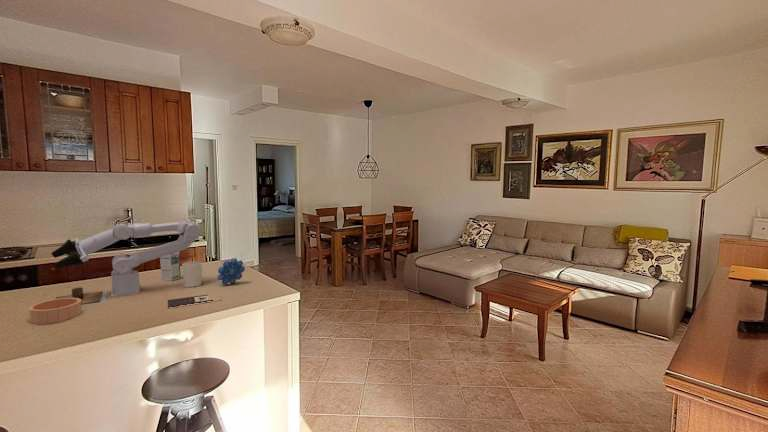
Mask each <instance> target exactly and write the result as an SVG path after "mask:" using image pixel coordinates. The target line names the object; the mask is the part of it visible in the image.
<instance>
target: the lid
mask: <svg viewBox="0 0 768 432" xmlns="http://www.w3.org/2000/svg"><path fill="white" fill-rule="evenodd" d="M83 289H84V288H83V287H74V288H71V294H69V295H63V296H62V295H61V296H55V298H56V299H60V298H79V299H81V301H82V305H84V304H91V303H98V302H100V300H101V297H102V293H103V292H104V291H103V290H101V291H94V292H93V291H91V292H85V293H84V290H83Z"/></svg>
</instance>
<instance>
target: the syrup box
mask: <svg viewBox="0 0 768 432" xmlns="http://www.w3.org/2000/svg"><path fill="white" fill-rule="evenodd" d="M159 259H160V260H159V261H160V262H159V263H160V277H161V281H166V282H172V281H175V280H178V279H181V277H182V276H181V259H180V251H178V252H175V253H172V254H169V255H166V256H163V257H160V258H159Z"/></svg>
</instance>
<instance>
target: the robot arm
mask: <svg viewBox="0 0 768 432" xmlns="http://www.w3.org/2000/svg"><path fill="white" fill-rule="evenodd" d="M175 231H176V232H177V233H180V235H179V236H178V238H177V240H174V241H169V242H167V243H164V244H161V245H157V246H154V247H151V248H147V249H144V250H141V251H137V252H131V253H127V254H124V253H121V254H117V255H115V256H114V257H113V258H112V259H111V264H112V269H113V270H112V271H110V273H111V276H110V277H111V289H112V290H111V293H110V297H119V296H126V295H134V294H140V288H141V283H140V273H139V272H140V271H139V270H134V268H137V267H138V266H140V265H141V264H144V263H147V262H150V261H153V260H156V259H160V257H163V256H166V255H169V254H172V253H175V252H178V251H179V252H180V251H184V250H187V249H188V248H189V247H190V246H191V245H192V244H193V243H194V242H195V241H196V240H198V239H199V237H200V235H201V231H202V228H201V227H200V225H198V224H197V223H194V222H193V221H174V222H173V221H172V222H165V223H159V224H157V223H156V224H152V223H150V222H147V221H143V220H142V221H141V222H136V223H131V222H128V223H127V224H124V223H120V224H115V225H114V226H113V227H112V228H109V229H107V230H104V231H101V232H98V233H97V234H94V235H91V236H89V237H88V238H84V239H83V240H80V238H79V237H76V238H73V239H72V241H71V239H70V238H69V239H67V240H66V241H65V242H64V243H63V244H62V245H61V246H59V247H58V248H57V249H55V250H54V251H52V252H51V256H52V257H53V258H54V259H55V258H60V257H62V256H65V255H67V256H65V257H64V258H62V259H60V260H58V261H56V262H55V263H54V265H55V266H56V267H57V269H61V268H65V267H70V266H78V265H79V266H80V265H83V264H84V263H85V262H87V261H89V260H90V259H89V254H93V253H94V252H95V253H96V252H97V251H100V250H101V249H104V248H105V247H108V246H110V245H112V244H114V243H116V242H118V241H120V240H128V239H129V238H133V239H134V238H139V237H141V238H142V237H149V236H151V235H152V234H153V233H162V232H175ZM68 254H69V255H68Z"/></svg>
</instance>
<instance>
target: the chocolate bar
mask: <svg viewBox="0 0 768 432" xmlns="http://www.w3.org/2000/svg"><path fill="white" fill-rule="evenodd" d="M206 297H207V298H206ZM208 298H209V297H208V294H201V295H195V296H188V297H180V298H173V299H168V300H167V308H168V309H170V308H169V307H175V306H180V305H187V304H194V303H201V302H207V301H213V300H212V299H211V300H210V299H209V300H208ZM210 298H211V297H210ZM175 308H176V307H175Z"/></svg>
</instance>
